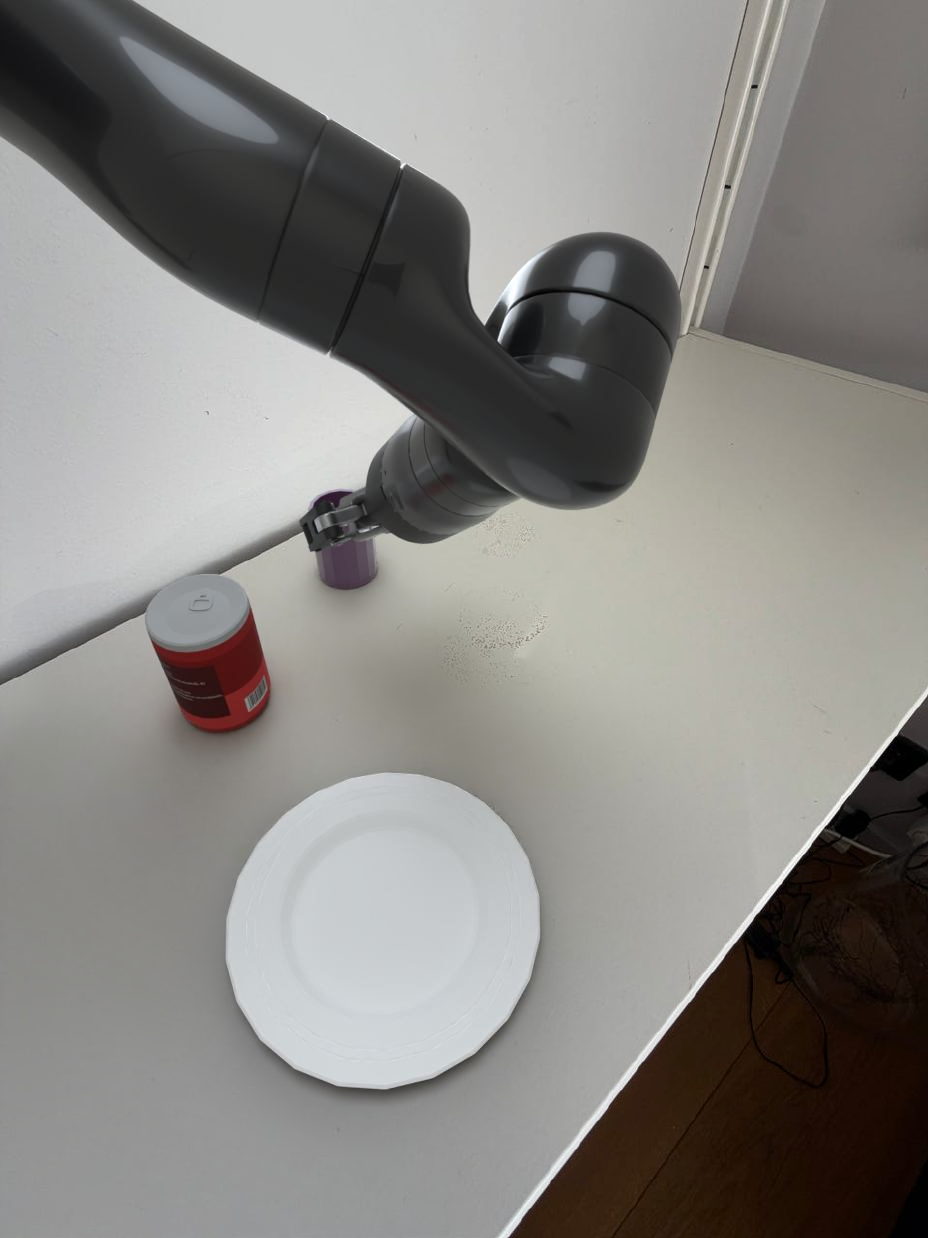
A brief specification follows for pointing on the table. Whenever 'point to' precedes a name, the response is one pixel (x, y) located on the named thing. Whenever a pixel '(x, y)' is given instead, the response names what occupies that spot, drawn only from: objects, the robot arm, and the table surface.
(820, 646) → the table surface
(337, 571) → the cup
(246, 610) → the canned food
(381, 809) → the plate
